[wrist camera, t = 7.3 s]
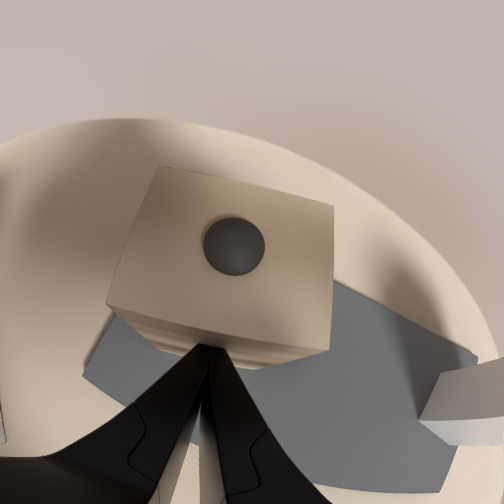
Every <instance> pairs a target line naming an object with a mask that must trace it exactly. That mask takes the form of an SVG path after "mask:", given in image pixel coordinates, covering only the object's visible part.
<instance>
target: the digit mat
mask: <svg viewBox="0 0 504 504" xmlns="http://www.w3.org/2000/svg"><path fill="white" fill-rule="evenodd" d="M182 357H183V356H181V355H177V354H173V353H169V352H165V351H161V350H159V349H158V348H157V347H155V346H154V345H153V344H152V343H150V342H149V341H148V340H147V339H145V338H144V337H143V336H142V335H140V334H139V333H138V332H137V331H136V330H134V329H133V328H132V327H131V326H130V325H129V324H127V323H126V322H125V321H124V320H123V319H122V318H121V317H120V316H118V315H117V314H116V316H115V317H114V319H113V321H112V322H111V324H110V326H109V327H108V329H107V331H106V333H105V334H104V336H103V338H102V340H101V341H100V343H99V345H98V347H97V348H96V350H95V352H94V354H93V356H92V358H91V359H90V361H89V363H88V365H87V367H86V369H85V371H84V373H83V375H82V377H84V378H85V379H86V380H88V381H89V382H90V383H92V384H93V385H94V386H96V387H97V388H99V389H100V390H101V391H103V392H104V393H106V394H107V395H109V396H110V397H112V398H113V399H115V400H116V401H118V402H119V403H121V404H122V405H124V406H125V407H127V406H128V405H129V404H131V403H132V402H134V400H135V399H136V398H138V397H139V396H140V395H141V394H142V393H143V392H144V391H146V390H147V389H148V388H149V387H150V386H151V385H152V384H153V383H155V382H156V381H157V380H158V379H159V378H160V377H161V376H162V375H163V374H165V373H166V372H167V371H168V370H169V369H170V368H171V367H172V366H173V365H174V364H176V363H177V362H178V361H179V360H180V359H181V358H182ZM477 362H478V356H476V355H474V354H472V353H470V352H468V351H466V350H465V349H463V348H461V347H459V346H457V345H455V344H453V343H451V342H450V341H448V340H446V339H444V338H442V337H440V336H438V335H436V334H434V333H432V332H431V331H429V330H427V329H425V328H423V327H421V326H419V325H417V324H415V323H413V322H411V321H410V320H408V319H406V318H404V317H402V316H400V315H398V314H396V313H394V312H392V311H390V310H388V309H386V308H385V307H383V306H381V305H379V304H377V303H375V302H373V301H371V300H369V299H367V298H365V297H363V296H361V295H359V294H357V293H355V292H353V291H352V290H350V289H348V288H346V287H344V286H342V285H340V284H338V283H336V282H334V281H333V299H332V318H331V332H330V345H329V350H328V351H325V352H322V353H318V354H315V355H311V356H308V357H304V358H300V359H297V360H293V361H289V362H285V363H281V364H277V365H273V366H269V367H264V368H260V369H255V370H253V369H246V368H240V367H235V368H236V370H237V371H238V373H239V375H240V377H241V379H242V381H243V382H244V384H245V386H246V388H247V390H248V392H249V393H250V395H251V397H252V399H253V400H254V402H255V404H256V406H257V407H258V409H259V411H260V413H261V414H262V416H263V418H264V419H265V421H266V423H267V424H268V426H269V427H268V428H270V429H271V431H272V433H273V434H274V436H275V438H276V439H277V441H278V442H279V444H280V445H281V447H282V448H283V450H284V451H285V452H286V454H287V455H288V456H289V457H290V459H291V460H292V461H293V462H294V464H295V465H296V466H297V467H298V468H299V470H300V471H301V472H302V473H303V474H304V475H305V476H306V477H307V479H308V480H309V481H310V482H311V483H315V484H320V485H325V486H331V487H337V488H344V489H351V490H359V491H369V492H382V493H439V492H440V490H441V488H442V486H443V483H444V481H445V479H446V476H447V474H448V471H449V469H450V466H451V464H452V461H453V459H454V456H455V453H456V450H457V447H458V446H454V445H449V444H447V443H446V442H445V441H444V440H442V439H441V438H440V437H438V436H437V435H436V434H435V433H433V432H432V431H431V430H429V429H428V428H427V427H426V426H424V425H423V424H422V423H420V422H419V421H418V420H419V418H420V416H421V414H422V412H423V410H424V408H425V406H426V404H427V402H428V400H429V398H430V396H431V394H432V392H433V389H434V387H435V385H436V383H437V380H438V378H439V376H440V373H442V372H447V371H452V370H457V369H461V368H466V367H470V366H474V365H477ZM200 407H201V406H200ZM199 419H200V411H199V415H198V418H197V421H196V424H195V427H194V431H193V434H192V437H191V440H190V442H191V443H193V444H196V445H198V446H199Z"/></svg>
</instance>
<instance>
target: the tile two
mask: <svg viewBox="0 0 504 504" xmlns="http://www.w3.org/2000/svg"><path fill="white" fill-rule="evenodd" d="M418 421H419V422H420V423H422V424H423V425H424V426H426V427H427V428H428V429H429V430H431V431H432V432H433V433H435V434H436V435H437V436H438V437H440V438H441V439H442V440H444V441H445V442H446V443H447V444H449V445H454V446H500V445H504V357H503V358H499V359H496V360H493V361H489V362H485V363H482V364H478V365H474V366H470V367H466V368H461V369H457V370H452V371H447V372H442V373H440V376H439V378H438V380H437V383H436V385H435V387H434V389H433V392H432V394H431V396H430V398H429V400H428V402H427V404H426V406H425V408H424V410H423V412H422V414H421V416H420V418H419V420H418Z"/></svg>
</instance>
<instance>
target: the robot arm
mask: <svg viewBox="0 0 504 504" xmlns="http://www.w3.org/2000/svg"><path fill="white" fill-rule="evenodd" d="M200 406H201V407H200ZM199 411H200V419H199V475H200V504H332V503H331V502H330V501H328V500H327V499H326V498H325V497H324V496H323V495H322V494H321V493H320V492H319V491H318V489H317V488H316V487H315V486H314V485H313V484H312V483H311V482H310V481H309V480H308V479H307V477H306V476H305V475H304V474H303V473H302V472H301V471H300V470H299V468H298V467H297V466H296V465H295V464H294V462H293V461H292V460H291V459H290V457H289V456H288V455H287V454H286V452H285V451H284V450H283V448H282V447H281V445H280V444H279V442H278V441H277V439H276V438H275V436H274V434H273V433H272V431H271V429H270V428H268V427H269V426H268V424H267V423H266V421H265V419H264V418H263V416H262V414H261V413H260V411H259V409H258V407H257V406H256V404H255V402H254V400H253V399H252V397H251V395H250V393H249V392H248V390H247V388H246V386H245V384H244V382H243V381H242V379H241V377H240V375H239V373H238V371H237V370H236V368H235V366H234V364H233V362H232V360H231V358H230V356H229V354H228V353H227V351H226V349H225V348H220V347H215V346H213V347H212V348H211V346H210V345H205V344H201V343H198V344H196V345H195V346H194V347H193V348H192V349H191V350H190V351H189V352H188V353H187V354H185V355H184V356H183V357H182V358H181V359H180V360H179V361H178V362H177V363H176V364H174V365H173V366H172V367H171V368H170V369H169V370H168V371H167V372H166V373H165V374H163V375H162V376H161V377H160V378H159V379H158V380H157V381H156V382H155V383H153V384H152V385H151V386H150V387H149V388H148V389H147V390H146V391H144V392H143V393H142V394H141V395H140V396H139V397H138V398H136V399H135V400H134V402H132V403H131V404H129V405H128V406H127V407H126V408H125V409H124V410H122V411H121V412H120V413H119V414H117V415H116V416H115V417H114V418H112V419H111V420H109V421H108V422H106V423H105V424H103V425H102V426H100V427H99V428H97V429H96V430H94V431H92V432H91V433H89V434H87V435H86V436H84V437H82V438H81V439H79V440H77V441H76V442H74V443H72V444H70V445H69V446H67V447H65V448H63V449H62V450H60V451H58V452H55V453H53V454H49V455H46V456H40V457H0V504H170V502H171V499H172V496H173V492H174V489H175V486H176V483H177V480H178V477H179V474H180V471H181V468H182V465H183V461H184V458H185V455H186V452H187V449H188V446H189V443H190V440H191V437H192V434H193V431H194V427H195V424H196V421H197V418H198V415H199Z"/></svg>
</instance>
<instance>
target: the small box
mask: <svg viewBox="0 0 504 504" xmlns="http://www.w3.org/2000/svg"><path fill="white" fill-rule="evenodd" d="M5 442H6V438H5V434H4V429H3V423H2V418H1V411H0V444H1V443H5Z"/></svg>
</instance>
